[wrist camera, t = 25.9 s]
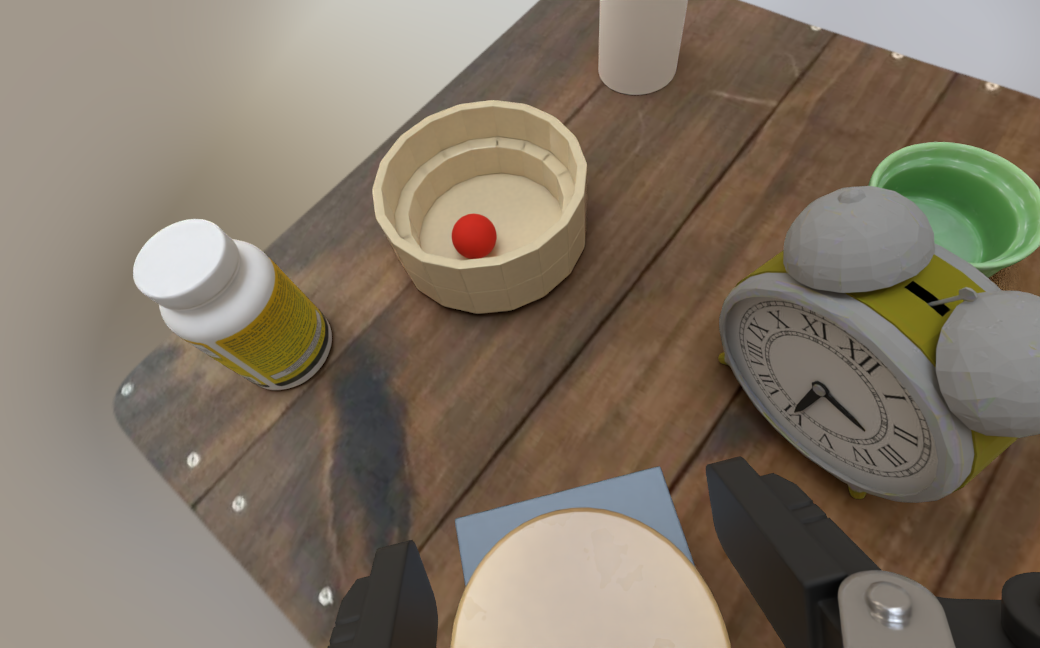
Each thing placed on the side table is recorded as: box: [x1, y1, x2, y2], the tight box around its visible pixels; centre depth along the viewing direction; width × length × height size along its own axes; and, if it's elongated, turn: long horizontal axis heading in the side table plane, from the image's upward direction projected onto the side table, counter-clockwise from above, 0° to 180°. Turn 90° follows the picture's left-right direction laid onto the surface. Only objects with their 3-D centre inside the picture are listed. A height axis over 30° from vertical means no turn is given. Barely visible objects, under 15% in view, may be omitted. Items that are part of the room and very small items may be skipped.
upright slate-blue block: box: [455, 467, 695, 587], centre depth 23 cm, size 8×8×10 cm
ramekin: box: [868, 142, 1040, 278], centre depth 32 cm, size 9×9×4 cm
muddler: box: [450, 507, 731, 648], centre depth 13 cm, size 4×4×12 cm
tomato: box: [452, 214, 497, 259], centre depth 36 cm, size 3×3×3 cm
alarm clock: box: [718, 186, 1040, 503], centre depth 24 cm, size 12×7×15 cm, turn 35°
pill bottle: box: [133, 219, 332, 390], centre depth 31 cm, size 6×6×11 cm
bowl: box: [372, 100, 587, 314], centre depth 36 cm, size 13×13×6 cm
